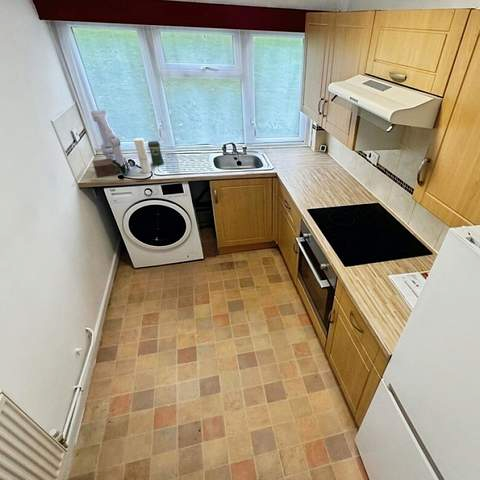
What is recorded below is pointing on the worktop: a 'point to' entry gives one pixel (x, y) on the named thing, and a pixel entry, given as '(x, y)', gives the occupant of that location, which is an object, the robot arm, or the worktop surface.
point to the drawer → (117, 165)
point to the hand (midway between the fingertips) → (123, 172)
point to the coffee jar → (155, 152)
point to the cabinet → (104, 167)
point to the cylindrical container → (142, 155)
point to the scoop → (120, 169)
